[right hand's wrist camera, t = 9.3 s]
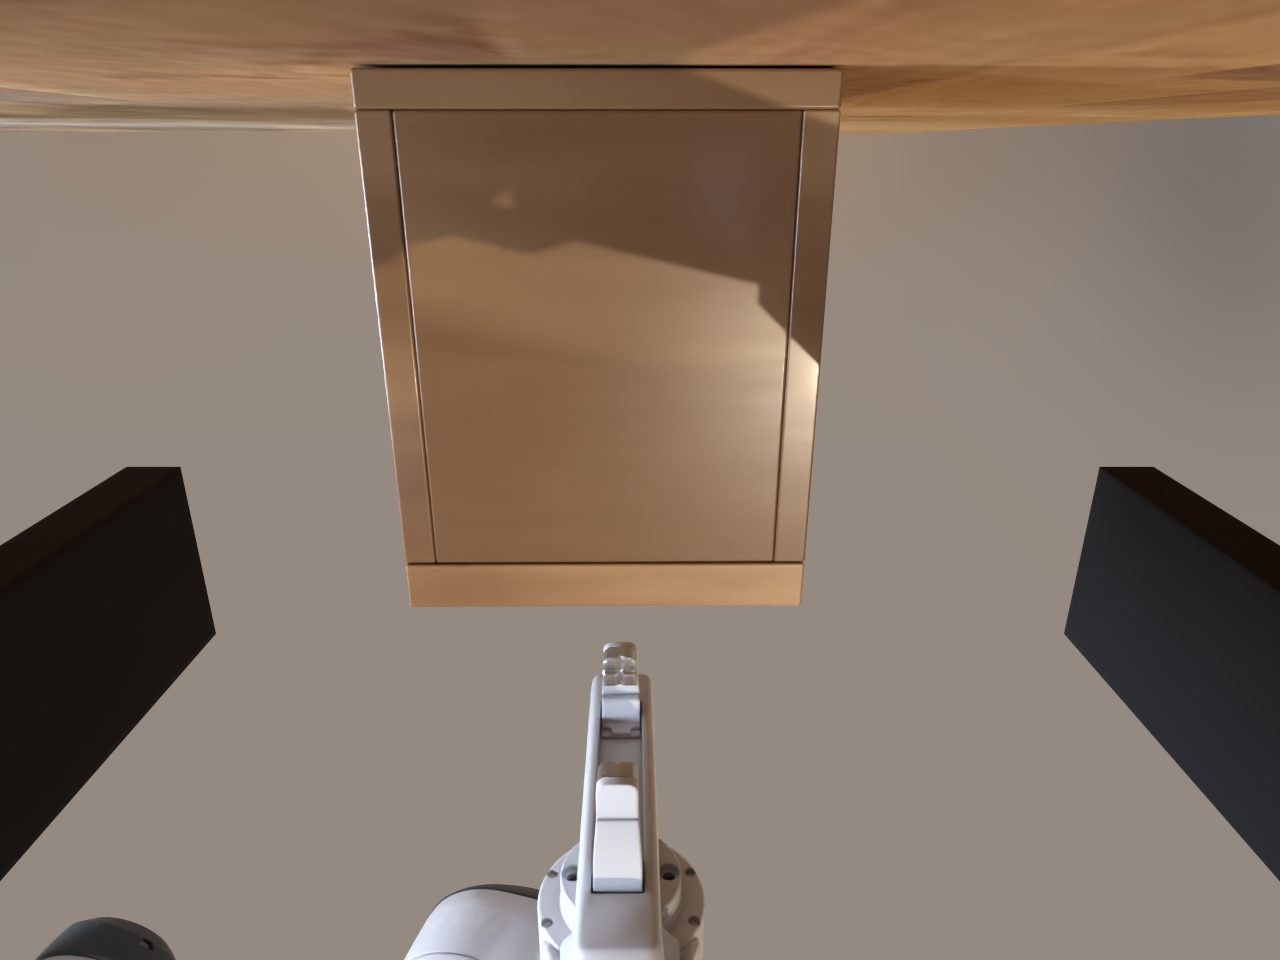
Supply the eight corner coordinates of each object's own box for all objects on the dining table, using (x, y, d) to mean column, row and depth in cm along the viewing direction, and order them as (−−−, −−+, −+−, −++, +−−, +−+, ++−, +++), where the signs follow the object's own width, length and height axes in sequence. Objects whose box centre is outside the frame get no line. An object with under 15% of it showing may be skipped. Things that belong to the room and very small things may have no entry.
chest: (744, 104, 32) (732, 388, 36) (481, 104, 32) (499, 388, 36) (844, 67, 17) (804, 562, 21) (348, 67, 17) (404, 563, 21)
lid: (730, 384, 37) (723, 556, 40) (502, 384, 36) (513, 557, 40) (804, 564, 21) (783, 827, 24) (405, 565, 21) (435, 830, 24)
